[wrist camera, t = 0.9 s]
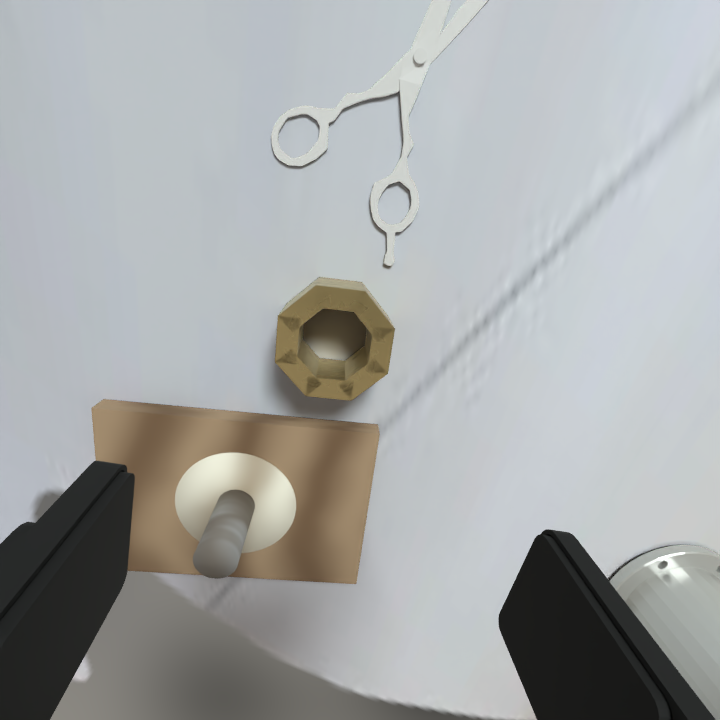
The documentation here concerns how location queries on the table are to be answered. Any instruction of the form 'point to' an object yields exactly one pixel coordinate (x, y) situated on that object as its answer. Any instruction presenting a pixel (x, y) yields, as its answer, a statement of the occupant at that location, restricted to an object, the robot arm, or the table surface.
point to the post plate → (241, 490)
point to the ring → (326, 373)
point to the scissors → (408, 83)
